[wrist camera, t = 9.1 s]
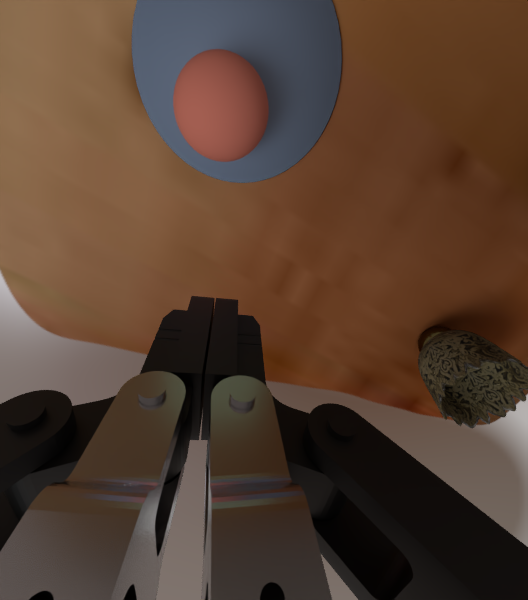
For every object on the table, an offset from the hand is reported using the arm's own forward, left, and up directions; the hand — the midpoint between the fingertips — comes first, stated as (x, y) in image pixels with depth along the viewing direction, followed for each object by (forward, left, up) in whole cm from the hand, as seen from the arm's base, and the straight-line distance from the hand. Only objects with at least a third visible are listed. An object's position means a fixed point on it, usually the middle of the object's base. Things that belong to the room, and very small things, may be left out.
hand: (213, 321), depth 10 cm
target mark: (-9, 0, -15) cm, 17 cm away
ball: (-7, -1, -12) cm, 14 cm away
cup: (+10, +22, -15) cm, 29 cm away
